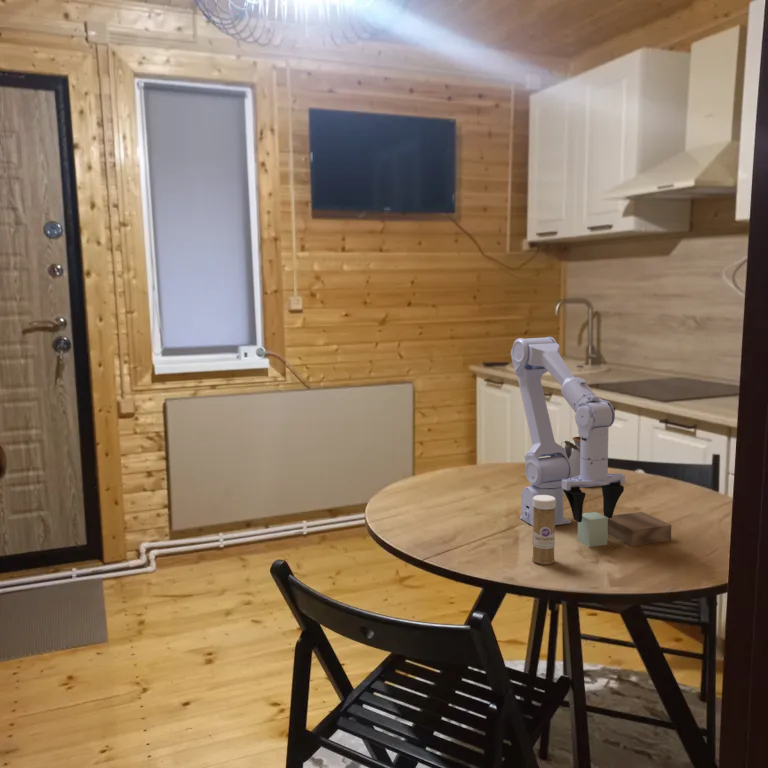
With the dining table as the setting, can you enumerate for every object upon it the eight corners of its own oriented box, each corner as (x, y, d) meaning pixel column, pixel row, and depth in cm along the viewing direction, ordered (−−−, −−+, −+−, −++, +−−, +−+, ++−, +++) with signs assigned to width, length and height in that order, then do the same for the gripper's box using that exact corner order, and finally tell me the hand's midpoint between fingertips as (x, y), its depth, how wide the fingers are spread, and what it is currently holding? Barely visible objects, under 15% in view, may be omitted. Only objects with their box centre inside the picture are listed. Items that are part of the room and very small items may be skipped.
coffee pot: (571, 475, 210) (572, 425, 208) (610, 480, 203) (611, 429, 201) (543, 493, 192) (543, 438, 190) (584, 499, 186) (585, 443, 184)
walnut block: (632, 546, 152) (632, 530, 151) (604, 531, 161) (604, 516, 161) (670, 540, 155) (671, 524, 154) (641, 526, 164) (641, 511, 164)
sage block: (589, 547, 152) (589, 520, 151) (577, 540, 156) (577, 514, 155) (607, 544, 153) (607, 517, 152) (595, 537, 157) (595, 511, 156)
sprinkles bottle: (537, 566, 141) (538, 501, 140) (528, 558, 146) (529, 494, 144) (558, 564, 142) (559, 499, 141) (549, 556, 147) (550, 493, 145)
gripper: (574, 464, 146) (574, 528, 148) (634, 458, 150) (632, 520, 152) (556, 457, 153) (556, 518, 154) (614, 451, 157) (612, 510, 159)
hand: (592, 518), depth 154 cm, fingers open, 7 cm apart
